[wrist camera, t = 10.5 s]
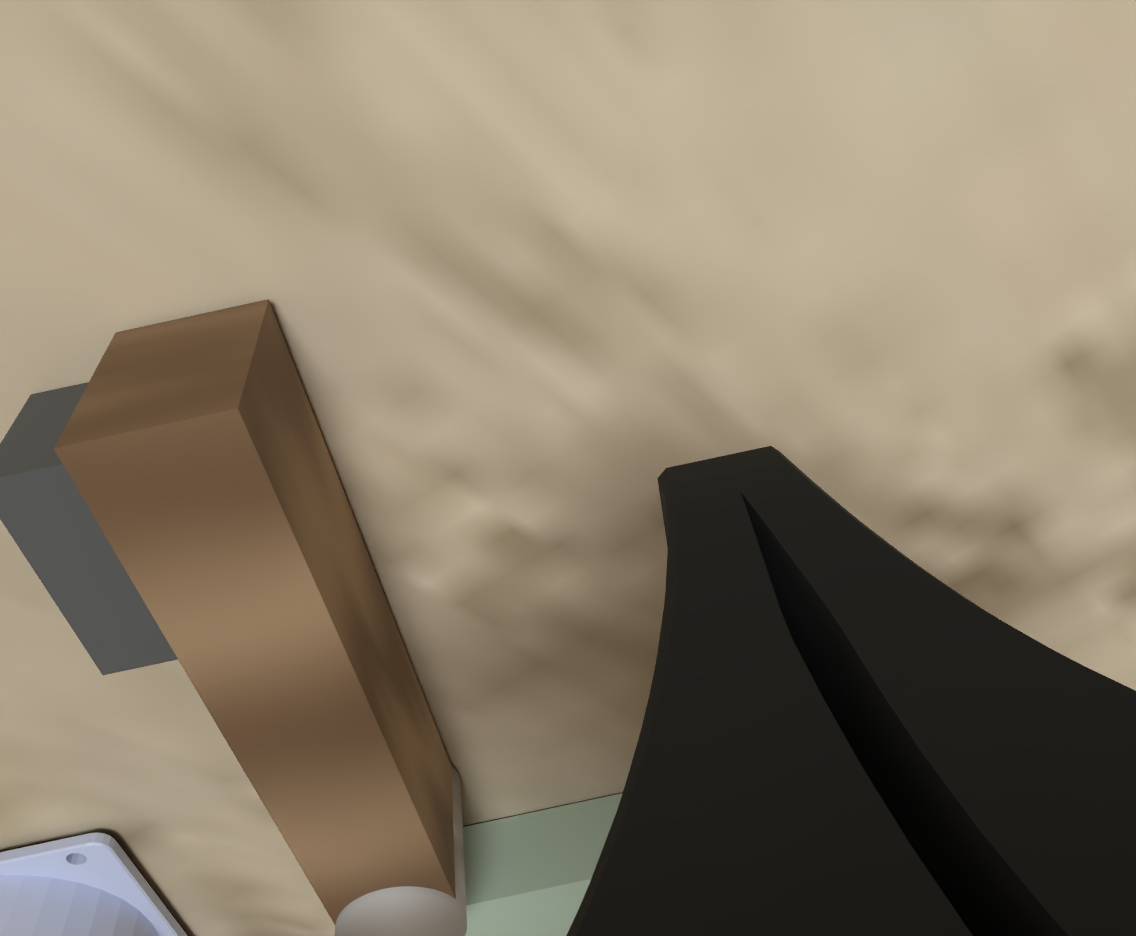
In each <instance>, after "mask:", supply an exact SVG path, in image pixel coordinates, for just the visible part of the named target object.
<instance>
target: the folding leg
mask: <svg viewBox="0 0 1136 936" xmlns="http://www.w3.org/2000/svg"><path fill="white" fill-rule="evenodd" d="M54 450H55V452H56V454H57V455H58V457H59V459H60V460H61V462H62V464H63V465H64V467H65V469H66V470H67V472H68V474H69V476H70V477H71V479H72V481H73V482H74V484H75V486H76V487H77V489H78V491H79V492H80V494H81V496H82V498H83V499H84V501H85V503H86V504H87V506H88V508H89V509H90V511H91V513H92V514H93V516H94V518H95V520H96V521H97V523H98V525H99V526H100V528H101V530H102V531H103V533H104V535H105V536H106V538H107V540H108V542H109V543H110V545H111V547H112V548H113V550H114V552H115V553H116V555H117V557H118V558H119V560H120V562H121V563H122V565H123V567H124V569H125V570H126V572H127V574H128V575H129V577H130V579H131V580H132V582H133V584H134V585H135V587H136V589H137V591H138V592H139V594H140V596H141V597H142V599H143V601H144V602H145V604H146V606H147V607H148V609H149V611H150V613H151V614H152V616H153V618H154V619H155V621H156V623H157V624H158V626H159V628H160V629H161V631H162V633H163V635H164V636H165V638H166V640H167V641H168V643H169V645H170V646H171V648H172V650H173V651H174V653H175V655H176V657H177V658H178V660H179V662H180V663H181V665H182V667H183V668H184V670H185V672H186V673H187V675H188V677H189V679H190V680H191V682H192V684H193V685H194V687H195V689H196V690H197V692H198V694H199V695H200V697H201V699H202V701H203V702H204V704H205V706H206V707H207V709H208V711H209V712H210V714H211V716H212V717H213V719H214V721H215V723H216V724H217V726H218V728H219V729H220V731H221V733H222V734H223V736H224V738H225V739H226V741H227V743H228V744H229V746H230V748H231V750H232V751H233V753H234V755H235V756H236V758H237V760H238V761H239V763H240V765H241V766H242V768H243V770H244V772H245V773H246V775H247V777H248V778H249V780H250V782H251V783H252V785H253V787H254V788H255V790H256V792H257V794H258V795H259V797H260V799H261V800H262V802H263V804H264V805H265V807H266V809H267V810H268V812H269V814H270V816H271V817H272V819H273V821H274V822H275V824H276V826H277V827H278V829H279V831H280V832H281V834H282V836H283V838H284V839H285V841H286V843H287V844H288V846H289V848H290V849H291V851H292V853H293V854H294V856H295V858H296V860H297V861H298V863H299V865H300V866H301V868H302V870H303V871H304V873H305V875H306V876H307V878H308V880H309V882H310V883H311V885H312V887H313V888H314V890H315V892H316V893H317V895H318V897H319V898H320V900H321V902H322V904H323V905H324V907H325V909H326V910H327V912H328V914H329V915H330V917H331V919H332V920H333V922H334V924H335V936H465V934H466V931H467V913H466V890H465V866H464V842H463V818H462V794H461V781H460V777H459V775H458V773H457V772H456V770H455V769H454V768H453V767H452V766H451V764H450V761H449V759H448V756H447V754H446V751H445V748H444V746H443V743H442V741H441V738H440V736H439V733H438V731H437V728H436V725H435V723H434V720H433V718H432V715H431V713H430V710H429V708H428V705H427V702H426V700H425V697H424V695H423V692H422V690H421V687H420V685H419V682H418V679H417V677H416V674H415V672H414V669H413V667H412V664H411V662H410V659H409V657H408V654H407V651H406V649H405V646H404V644H403V641H402V639H401V636H400V634H399V631H398V628H397V626H396V623H395V621H394V618H393V616H392V613H391V611H390V608H389V605H388V603H387V600H386V598H385V595H384V593H383V590H382V588H381V585H380V582H379V580H378V577H377V575H376V572H375V570H374V567H373V565H372V562H371V559H370V557H369V554H368V552H367V549H366V547H365V544H364V542H363V539H362V537H361V534H360V531H359V529H358V526H357V524H356V521H355V519H354V516H353V514H352V511H351V508H350V506H349V503H348V501H347V498H346V496H345V493H344V491H343V488H342V485H341V483H340V480H339V478H338V475H337V473H336V470H335V468H334V465H333V462H332V460H331V457H330V455H329V452H328V450H327V447H326V445H325V442H324V440H323V437H322V434H321V432H320V429H319V427H318V424H317V422H316V419H315V417H314V414H313V411H312V409H311V406H310V404H309V401H308V399H307V396H306V394H305V391H304V388H303V386H302V383H301V381H300V378H299V376H298V373H297V371H296V368H295V365H294V363H293V360H292V358H291V355H290V353H289V350H288V348H287V345H286V342H285V340H284V337H283V335H282V332H281V330H280V327H279V325H278V322H277V320H276V317H275V314H274V312H273V309H272V307H271V304H270V302H269V299H268V300H263V301H259V302H254V303H250V304H245V305H241V306H236V307H231V308H227V309H222V310H218V311H213V312H208V313H204V314H199V315H195V316H190V317H185V318H181V319H176V320H172V321H167V322H162V323H158V324H153V325H149V326H144V327H139V328H135V329H130V330H126V331H121V332H117V333H115V335H114V337H113V339H112V341H111V342H110V344H109V346H108V348H107V350H106V352H105V354H104V355H103V357H102V359H101V361H100V363H99V365H98V367H97V369H96V370H95V372H94V374H93V376H92V378H91V380H90V382H89V383H88V385H87V387H86V389H85V391H84V393H83V395H82V396H81V398H80V400H79V402H78V404H77V406H76V408H75V410H74V411H73V413H72V415H71V417H70V419H69V421H68V423H67V424H66V426H65V428H64V430H63V432H62V434H61V436H60V438H59V439H58V441H57V443H56V445H55V447H54Z"/></svg>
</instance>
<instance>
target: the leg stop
mask: <svg viewBox="0 0 1136 936" xmlns="http://www.w3.org/2000/svg"><path fill="white" fill-rule="evenodd" d="M88 383H89V382H88ZM88 383H84V384H79V385H74V386H69V387H65V388H60V389H55V390H51V391H46V392H41V393H36V394H32V395H30V397H29V398H28V400H27V402H26V403H25V405H24V407H23V408H22V410H21V411H20V413H19V415H18V416H17V418H16V419H15V421H14V423H13V424H12V426H11V428H10V429H9V431H8V432H7V434H6V436H5V437H4V439H3V441H2V442H1V444H0V519H1V521H2V522H3V524H4V525H5V527H6V528H7V530H8V531H9V533H10V534H11V536H12V537H13V539H14V540H15V542H16V544H17V545H18V547H19V548H20V550H21V551H22V553H23V554H24V556H25V557H26V559H27V560H28V562H29V563H30V565H31V566H32V568H33V569H34V571H35V573H36V574H37V576H38V577H39V579H40V580H41V582H42V583H43V585H44V586H45V588H46V589H47V591H48V592H49V594H50V595H51V597H52V598H53V600H54V601H55V603H56V605H57V606H58V608H59V609H60V611H61V612H62V614H63V615H64V617H65V618H66V620H67V621H68V623H69V624H70V626H71V627H72V629H73V630H74V632H75V633H76V635H77V637H78V638H79V640H80V641H81V643H82V644H83V646H84V647H85V649H86V650H87V652H88V653H89V655H90V656H91V658H92V659H93V661H94V662H95V664H96V666H97V667H98V669H99V670H100V672H101V673H102V675H106V674H111V673H116V672H120V671H125V670H130V669H134V668H139V667H144V666H149V665H153V664H158V663H163V662H167V661H172V660H177V659H178V658H177V657H176V655H175V653H174V651H173V650H172V648H171V646H170V645H169V643H168V641H167V640H166V638H165V636H164V635H163V633H162V631H161V629H160V628H159V626H158V624H157V623H156V621H155V619H154V618H153V616H152V614H151V613H150V611H149V609H148V607H147V606H146V604H145V602H144V601H143V599H142V597H141V596H140V594H139V592H138V591H137V589H136V587H135V585H134V584H133V582H132V580H131V579H130V577H129V575H128V574H127V572H126V570H125V569H124V567H123V565H122V563H121V562H120V560H119V558H118V557H117V555H116V553H115V552H114V550H113V548H112V547H111V545H110V543H109V542H108V540H107V538H106V536H105V535H104V533H103V531H102V530H101V528H100V526H99V525H98V523H97V521H96V520H95V518H94V516H93V514H92V513H91V511H90V509H89V508H88V506H87V504H86V503H85V501H84V499H83V498H82V496H81V494H80V492H79V491H78V489H77V487H76V486H75V484H74V482H73V481H72V479H71V477H70V476H69V474H68V472H67V470H66V469H65V467H64V465H63V464H62V462H61V460H60V459H59V457H58V455H57V454H56V452H55V450H54V447H55V445H56V443H57V441H58V439H59V438H60V436H61V434H62V432H63V430H64V428H65V426H66V424H67V423H68V421H69V419H70V417H71V415H72V413H73V411H74V410H75V408H76V406H77V404H78V402H79V400H80V398H81V396H82V395H83V393H84V391H85V389H86V387H87V385H88Z"/></svg>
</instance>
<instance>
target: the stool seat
mask: <svg viewBox="0 0 1136 936" xmlns="http://www.w3.org/2000/svg"><path fill="white" fill-rule="evenodd" d="M622 794H623V793H621V794H616V795H611V796H607V797H602V798H597V799H593V800H588V801H583V802H579V803H574V804H569V805H564V806H560V807H555V808H550V809H546V810H541V811H536V812H531V813H527V814H522V815H517V816H513V817H508V818H503V819H499V820H494V821H489V822H484V823H480V824H475V825H470V826H466V827H463V842H464V866H465V890H466V913H467V931H466V934H465V936H566V935H567V933H568V931H569V929H570V927H571V925H572V922H573V920H574V918H575V916H576V914H577V912H578V909H579V907H580V905H581V903H582V900H583V898H584V895H585V893H586V891H587V888H588V886H589V883H590V881H591V878H592V876H593V873H594V870H595V868H596V865H597V862H598V860H599V857H600V854H601V852H602V849H603V846H604V844H605V841H606V838H607V836H608V833H609V831H610V828H611V825H612V823H613V820H614V817H615V815H616V812H617V809H618V806H619V803H620V800H621V797H622Z"/></svg>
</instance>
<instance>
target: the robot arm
mask: <svg viewBox="0 0 1136 936" xmlns="http://www.w3.org/2000/svg"><path fill="white" fill-rule="evenodd" d="M658 484H659V491H660V498H661V505H662V511H663V518H664V525H665V532H666V539H667V546H668V557H667V577H666V594H665V604H664V612H663V619H662V626H661V633H660V640H659V647H658V654H657V660H656V665H655V671H654V676H653V681H652V686H651V690H650V695H649V700H648V704H647V708H646V712H645V716H644V721H643V725H642V729H641V733H640V736H639V740H638V743H637V747H636V750H635V754H634V757H633V761H632V764H631V768H630V771H629V775H628V778H627V781H626V784H625V788H624V791H623V794H622V797H621V800H620V803H619V806H618V809H617V812H616V815H615V817H614V820H613V823H612V825H611V828H610V831H609V833H608V836H607V838H606V841H605V844H604V846H603V849H602V852H601V854H600V857H599V860H598V862H597V865H596V868H595V870H594V873H593V876H592V878H591V881H590V883H589V886H588V888H587V891H586V893H585V895H584V898H583V900H582V903H581V905H580V907H579V909H578V912H577V914H576V916H575V918H574V920H573V922H572V925H571V927H570V929H569V931H568V933H567V935H566V936H1136V691H1135V690H1133V689H1131V688H1129V687H1127V686H1124V685H1122V684H1120V683H1118V682H1116V681H1114V680H1112V679H1110V678H1108V677H1106V676H1103V675H1101V674H1099V673H1097V672H1095V671H1093V670H1091V669H1089V668H1087V667H1085V666H1083V665H1081V664H1079V663H1077V662H1075V661H1073V660H1071V659H1069V658H1067V657H1065V656H1063V655H1062V654H1060V653H1058V652H1056V651H1054V650H1052V649H1050V648H1048V647H1046V646H1045V645H1043V644H1041V643H1039V642H1038V641H1036V640H1034V639H1032V638H1031V637H1029V636H1027V635H1025V634H1024V633H1022V632H1020V631H1018V630H1017V629H1015V628H1013V627H1011V626H1010V625H1008V624H1006V623H1004V622H1003V621H1001V620H999V619H998V618H996V617H995V616H993V615H991V614H990V613H988V612H986V611H985V610H983V609H982V608H980V607H979V606H977V605H976V604H974V603H972V602H971V601H969V600H968V599H966V598H965V597H963V596H962V595H960V594H959V593H957V592H956V591H954V590H953V589H951V588H950V587H948V586H947V585H945V584H944V583H943V582H941V581H940V580H938V579H937V578H935V577H934V576H932V575H931V574H929V573H928V572H926V571H925V570H924V569H922V568H921V567H920V566H918V565H917V564H915V563H914V562H913V561H911V560H910V559H909V558H907V557H906V556H904V555H903V554H902V553H900V552H899V551H898V550H897V549H895V548H894V547H893V546H891V545H890V544H889V543H887V542H886V541H885V540H884V539H882V538H881V537H880V536H878V535H877V534H876V533H875V532H873V531H872V530H871V529H869V528H868V527H867V526H865V525H864V524H863V523H862V522H860V521H859V520H858V519H857V518H855V517H854V516H853V515H852V514H851V513H849V512H848V511H847V510H846V509H844V508H843V507H842V506H841V505H840V504H839V503H837V502H836V501H835V500H834V499H833V498H831V497H830V496H829V495H828V494H827V493H826V492H824V491H823V490H822V489H821V488H820V487H819V486H817V485H816V484H815V483H814V482H813V481H812V480H811V479H809V478H808V477H807V476H806V475H805V474H804V473H803V472H802V471H800V470H799V469H798V468H797V467H796V466H795V465H794V464H793V463H792V462H791V461H789V460H788V459H787V458H786V457H785V456H784V455H783V454H782V453H781V452H779V451H778V450H776V449H775V448H773V447H772V446H768V447H764V448H759V449H754V450H749V451H745V452H740V453H735V454H731V455H726V456H721V457H716V458H712V459H707V460H702V461H698V462H693V463H688V464H684V465H679V466H674V467H669V468H666V469H665V470H664V471H663V473H662V474H661V475H660V476H659V477H658ZM0 936H187V934H186V933H185V932H184V931H183V929H182V928H181V927H180V925H179V924H178V923H177V921H176V920H175V919H174V917H173V916H172V915H171V913H170V912H169V911H168V909H167V908H166V907H165V905H164V904H163V903H162V901H161V900H160V899H159V897H158V896H157V895H156V893H155V892H154V891H153V889H152V888H151V887H150V885H149V884H148V883H147V881H146V880H145V879H144V877H143V876H142V875H141V873H140V872H139V871H138V869H137V868H136V867H135V865H134V864H133V863H132V861H131V860H130V859H129V857H128V856H127V855H126V854H125V852H124V851H123V850H122V848H121V847H120V846H119V844H118V843H117V842H116V840H115V839H114V838H112V837H111V836H110V835H107V834H105V833H99V832H96V833H88V834H83V835H79V836H74V837H69V838H65V839H60V840H55V841H51V842H46V843H41V844H36V845H32V846H27V847H22V848H18V849H13V850H8V851H4V852H0Z"/></svg>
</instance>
